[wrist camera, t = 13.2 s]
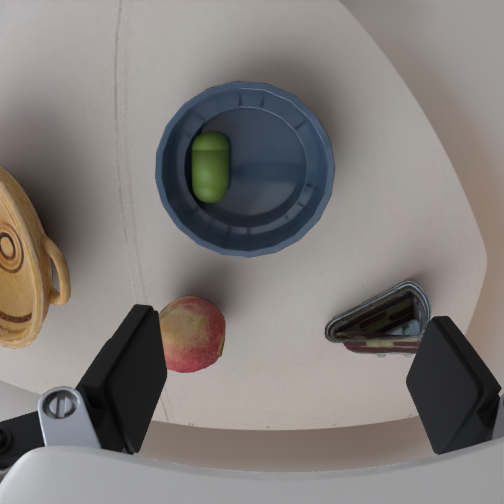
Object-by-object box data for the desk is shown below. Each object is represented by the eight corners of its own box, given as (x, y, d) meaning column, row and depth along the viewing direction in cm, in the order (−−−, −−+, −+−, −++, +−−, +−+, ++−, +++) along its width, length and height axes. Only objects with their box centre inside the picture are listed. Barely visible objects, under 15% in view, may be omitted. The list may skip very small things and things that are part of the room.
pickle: (236, 130, 26) (207, 131, 27) (213, 130, 23) (184, 131, 25) (235, 201, 28) (207, 197, 30) (213, 208, 26) (185, 204, 27)
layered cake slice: (336, 363, 37) (422, 391, 28) (317, 337, 33) (419, 367, 24) (367, 303, 41) (449, 320, 32) (354, 271, 37) (447, 286, 28)
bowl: (206, 69, 25) (194, 57, 21) (347, 129, 27) (363, 129, 22) (153, 204, 30) (134, 218, 25) (284, 259, 32) (287, 281, 27)
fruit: (219, 276, 33) (207, 319, 25) (237, 335, 35) (231, 384, 28) (153, 288, 34) (126, 329, 26) (175, 343, 36) (157, 389, 29)
